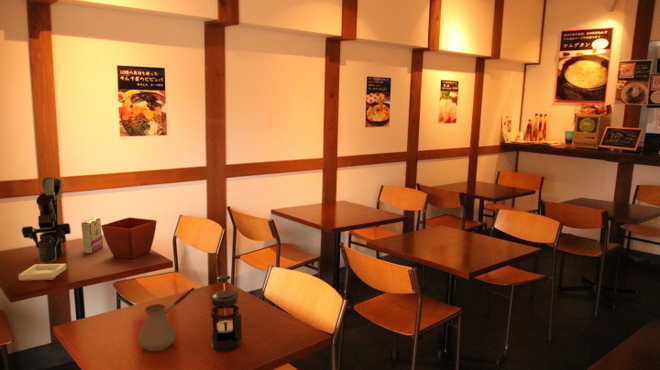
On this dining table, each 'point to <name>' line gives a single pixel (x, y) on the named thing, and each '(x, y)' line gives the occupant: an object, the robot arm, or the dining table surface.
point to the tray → (42, 272)
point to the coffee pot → (158, 327)
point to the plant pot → (129, 237)
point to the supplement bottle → (46, 248)
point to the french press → (226, 327)
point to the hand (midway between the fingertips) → (46, 246)
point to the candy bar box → (92, 235)
